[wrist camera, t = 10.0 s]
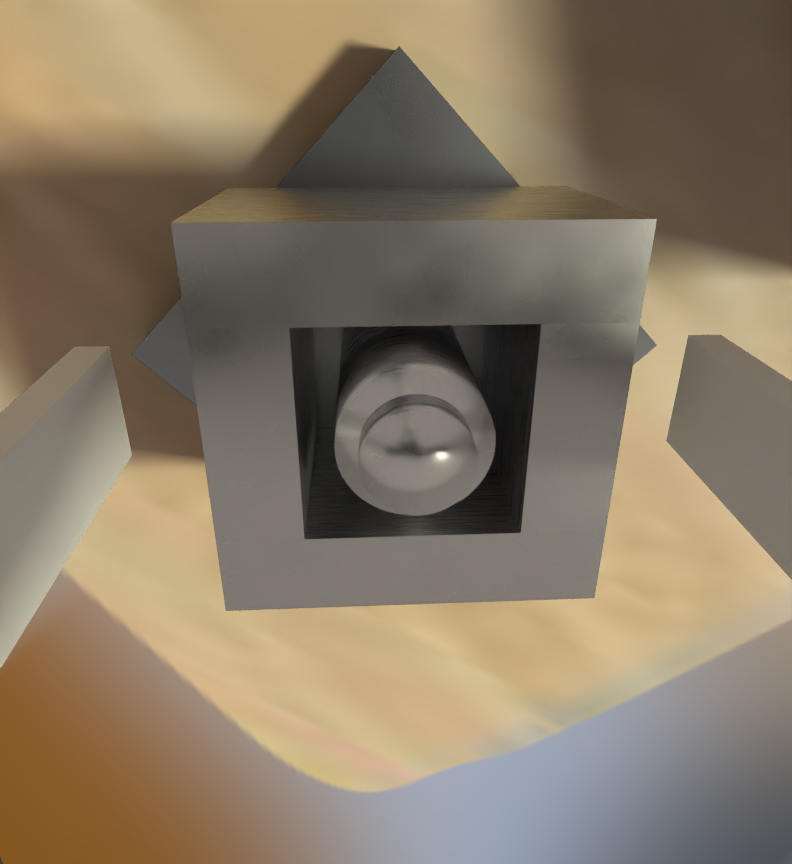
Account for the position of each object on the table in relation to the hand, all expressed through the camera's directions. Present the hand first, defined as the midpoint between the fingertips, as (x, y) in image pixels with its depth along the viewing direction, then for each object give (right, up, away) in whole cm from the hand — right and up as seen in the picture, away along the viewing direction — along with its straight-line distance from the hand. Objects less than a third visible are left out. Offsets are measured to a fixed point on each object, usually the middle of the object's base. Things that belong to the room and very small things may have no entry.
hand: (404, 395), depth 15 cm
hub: (0, +2, +5) cm, 6 cm away
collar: (0, +2, +4) cm, 5 cm away
